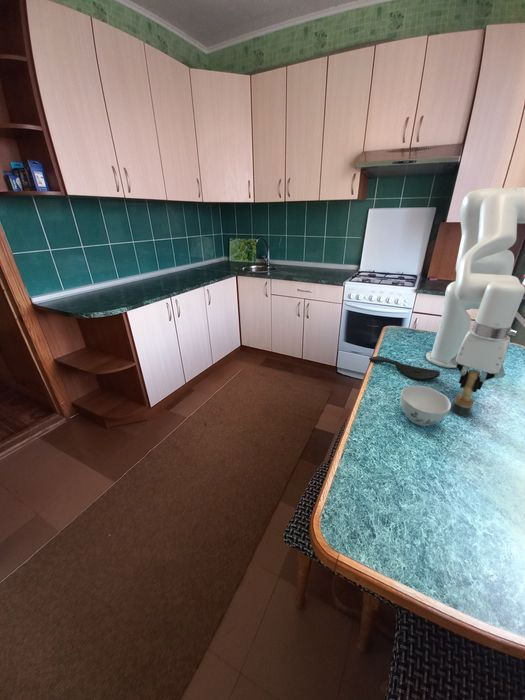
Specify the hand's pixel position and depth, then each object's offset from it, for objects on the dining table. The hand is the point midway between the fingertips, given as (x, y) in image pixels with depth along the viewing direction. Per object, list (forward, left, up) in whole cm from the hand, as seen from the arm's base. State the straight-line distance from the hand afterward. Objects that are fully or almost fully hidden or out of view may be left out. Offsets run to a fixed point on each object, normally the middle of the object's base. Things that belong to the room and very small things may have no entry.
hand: (468, 387), depth 84 cm
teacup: (+8, -11, -9) cm, 16 cm away
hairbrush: (-19, -17, -9) cm, 27 cm away
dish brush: (0, 0, -9) cm, 9 cm away
